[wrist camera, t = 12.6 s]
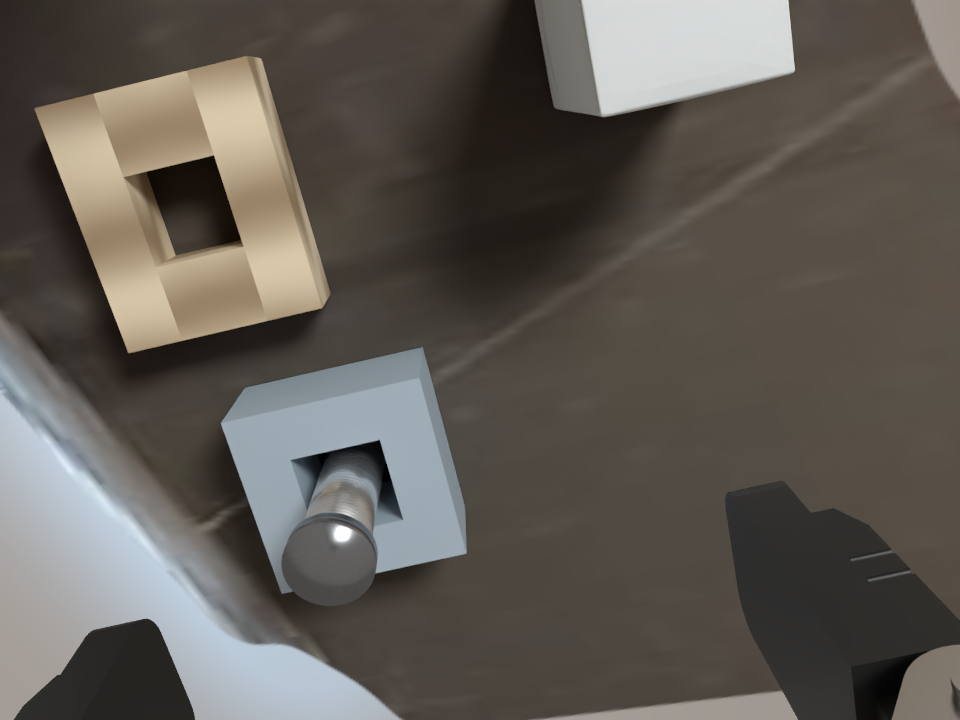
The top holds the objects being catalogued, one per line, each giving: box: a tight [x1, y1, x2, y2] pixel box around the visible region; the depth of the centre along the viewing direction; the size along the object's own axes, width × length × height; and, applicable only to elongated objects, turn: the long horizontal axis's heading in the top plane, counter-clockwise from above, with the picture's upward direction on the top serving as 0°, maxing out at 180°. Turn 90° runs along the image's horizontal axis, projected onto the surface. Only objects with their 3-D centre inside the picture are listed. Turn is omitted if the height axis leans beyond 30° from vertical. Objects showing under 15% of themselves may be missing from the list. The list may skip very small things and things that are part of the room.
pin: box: [281, 440, 386, 606], centre depth 41 cm, size 4×4×12 cm
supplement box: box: [534, 0, 795, 117], centre depth 34 cm, size 7×7×13 cm
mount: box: [34, 56, 331, 353], centre depth 41 cm, size 12×10×3 cm
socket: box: [221, 347, 466, 594], centre depth 44 cm, size 10×10×5 cm
